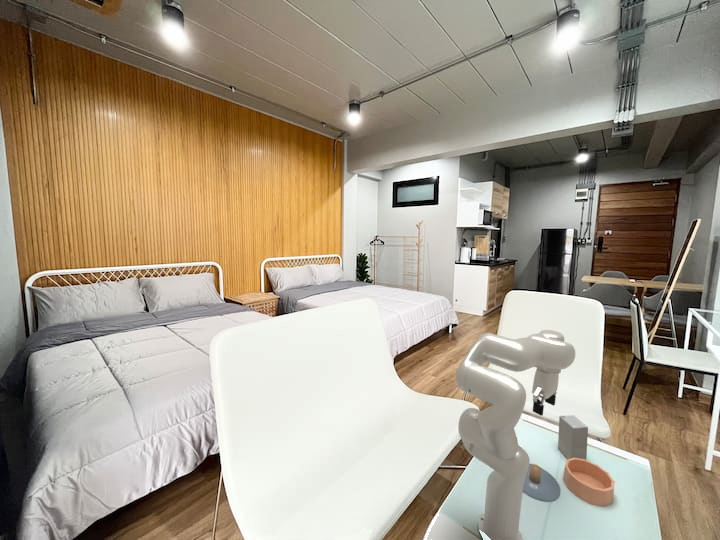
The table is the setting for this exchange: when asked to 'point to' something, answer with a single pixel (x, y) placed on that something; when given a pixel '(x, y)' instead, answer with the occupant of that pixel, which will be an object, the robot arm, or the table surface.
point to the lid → (541, 484)
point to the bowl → (589, 481)
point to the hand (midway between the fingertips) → (543, 408)
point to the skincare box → (572, 437)
